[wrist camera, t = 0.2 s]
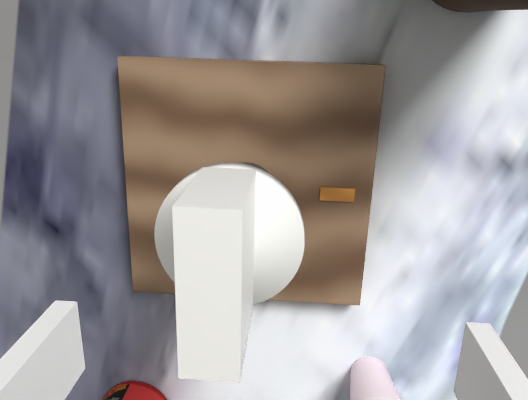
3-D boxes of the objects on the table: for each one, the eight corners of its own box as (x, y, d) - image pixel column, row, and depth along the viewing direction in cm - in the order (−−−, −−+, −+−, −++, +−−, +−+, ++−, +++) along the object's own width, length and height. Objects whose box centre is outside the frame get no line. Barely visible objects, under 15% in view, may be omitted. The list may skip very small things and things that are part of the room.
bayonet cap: (157, 159, 31) (104, 202, 23) (308, 165, 31) (312, 213, 22) (164, 311, 35) (121, 397, 27) (299, 319, 35) (299, 411, 26)
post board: (125, 56, 41) (61, 61, 30) (381, 64, 40) (413, 73, 29) (139, 281, 48) (92, 353, 37) (357, 294, 47) (375, 372, 36)
